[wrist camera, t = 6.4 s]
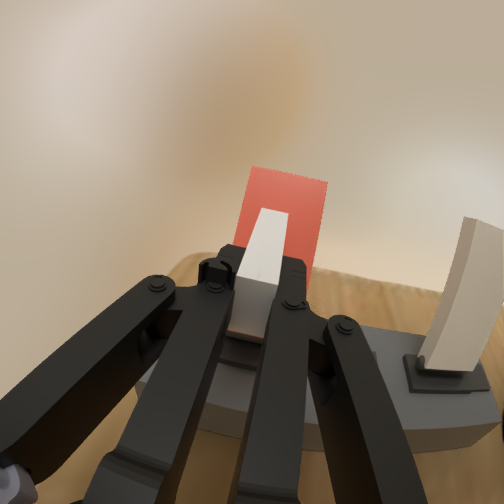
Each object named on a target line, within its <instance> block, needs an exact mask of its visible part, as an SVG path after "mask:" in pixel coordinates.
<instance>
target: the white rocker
mask: <svg viewBox="0 0 504 504" xmlns="http://www.w3.org/2000/svg"><path fill="white" fill-rule="evenodd" d="M503 302H504V230H501V229H499V228H496V227H494V226H492V225H490V224H487V223H484V222H482V221H480V220H477V219H473V218H468V217H464V218H463V223H462V228H461V232H460V236H459V240H458V244H457V248H456V252H455V255H454V259H453V263H452V266H451V269H450V273H449V276H448V279H447V282H446V285H445V288H444V291H443V294H442V297H441V300H440V303H439V305H438V308H437V311H436V313H435V316H434V319H433V321H432V324H431V326H430V329H429V331H428V333H427V336H426V338H425V340H424V343H423V345H422V347H421V350H420V352H419V354H418V356H417V357H418V359H417V362H416V367H417V369H420V370H432V371H446V372H466V373H469V372H470V371H473V370H474V368H475V366H476V364H477V362H478V360H479V358H480V356H481V354H482V352H483V350H484V348H485V346H486V344H487V341H488V339H489V337H490V335H491V332H492V330H493V328H494V325H495V323H496V320H497V318H498V315H499V312H500V310H501V307H502V304H503Z"/></svg>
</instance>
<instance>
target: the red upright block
mask: <svg viewBox="0 0 504 504" xmlns="http://www.w3.org/2000/svg"><path fill="white" fill-rule="evenodd" d="M327 184H328V183H327V182H325V181H320V180H316V179H312V178H308V177H303V176H299V175H294V174H289V173H285V172H280V171H275V170H270V169H265V168H260V167H255V166H252V168H251V172H250V176H249V180H248V184H247V189H246V192H245V197H244V200H243V204H242V209H241V213H240V217H239V221H238V225H237V229H236V233H235V238H234V242H233V245H235V246H240V247H244V248H247V246H248V243H249V240H250V238H251V235H252V232H253V230H254V227H255V224H256V222H257V219H258V216H259V214H260V211H261V208H266V209H270V210H275V211H280V212H284V213H288V221H287V228H286V235H285V242H284V249H283V255H284V256H288V257H293V258H297V259H302V260H303V261H304V263H305V265H306V266H307V274H306V275H307V279H306V280H307V285H306V293H307V289H308V284H309V279H310V275H311V270H312V265H313V260H314V255H315V250H316V245H317V240H318V235H319V230H320V224H321V218H322V213H323V207H324V201H325V196H326V189H327ZM226 336H229V337H233V338H238V339H242V340H246V341H250V342H255V343H259V344H262V343H263V339H264V338H262V337H258V336H253V335H249V334H245V333H240V332H236V331H232V330H228V329H227V333H226Z"/></svg>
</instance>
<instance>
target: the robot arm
mask: <svg viewBox="0 0 504 504" xmlns="http://www.w3.org/2000/svg"><path fill="white" fill-rule="evenodd" d="M287 221H288V213H284V212H280V211H275V210H270V209H266V208H261V211H260V214H259V216H258V219H257V222H256V224H255V227H254V230H253V232H252V235H251V238H250V240H249V243H248V246H247V248H244V247H240V246H235V245H230V244H227V245H226V246H224V247H222V248H221V249H220V251H219V253H218V256H217V257H216V258H208V259H206V260H203V261H202V262H201V263H200V264H199V274H198V283H197V285H196V286H191V287H175V282H174V281H173V280H172V279H171V278H169V277H168V276H164V275H152V276H148V277H146V278H144V279H143V280H142V281H140V282H139V283H138V284H137V285H135V286H134V287H133V288H131V289H130V290H129V291H128V292H126V293H125V294H124V295H123V296H121V297H120V298H119V299H117V300H116V301H115V302H114V303H112V304H111V305H110V306H109V307H107V308H106V309H105V310H104V311H103V312H101V313H100V314H99V315H98V316H96V318H94V319H93V320H91V321H90V322H89V323H88V324H87V325H85V326H84V327H83V328H82V329H81V330H80V331H78V332H77V333H76V334H75V335H73V336H72V337H71V338H70V339H69V340H68V341H66V342H65V343H64V344H63V345H62V346H60V347H59V348H58V349H57V350H56V351H55V352H53V353H52V354H51V355H50V356H49V357H48V358H46V359H45V360H44V361H43V362H42V363H41V364H40V365H39V366H37V367H36V368H35V369H34V370H33V371H32V372H31V373H29V374H28V375H27V376H26V377H25V378H24V379H23V380H22V381H20V382H19V383H18V384H17V385H16V386H15V387H14V388H13V389H12V390H11V391H10V392H9V393H7V394H6V395H5V396H4V397H3V398H2V399H1V400H0V504H32V503H34V502H36V501H37V499H38V494H37V491H36V489H35V485H37V484H39V483H41V482H43V481H44V480H45V479H47V478H48V477H50V476H51V475H52V474H53V473H54V472H55V471H57V470H58V469H59V468H60V467H61V466H62V465H63V463H64V462H65V461H66V460H67V459H68V458H69V457H70V456H71V455H72V454H73V452H74V451H75V450H76V449H77V448H78V447H79V446H80V445H81V444H82V443H83V441H84V440H85V439H86V438H87V437H88V436H89V435H90V434H91V433H92V432H93V430H94V429H95V428H96V427H97V426H98V425H99V424H100V423H101V422H102V420H103V419H104V418H105V417H106V416H107V415H108V414H109V413H110V412H111V411H112V409H113V408H114V407H115V406H116V405H117V404H118V403H119V402H120V401H121V399H122V398H123V397H124V396H125V395H126V394H127V393H128V392H129V391H130V390H131V388H132V387H133V386H134V385H135V384H136V383H137V382H138V381H139V380H140V378H141V377H142V376H143V375H144V374H145V373H146V372H147V371H148V370H149V369H150V367H151V366H152V365H153V364H154V363H155V362H156V361H157V360H158V361H157V363H156V365H155V367H154V369H153V371H152V373H151V375H150V377H149V379H148V381H147V383H146V385H145V388H144V390H143V392H142V394H141V396H140V398H139V400H138V402H137V404H136V406H135V408H134V410H133V413H132V415H131V417H130V419H129V421H128V423H127V425H126V427H125V430H124V432H123V434H122V436H121V438H120V440H119V443H118V445H117V446H116V448H115V449H114V450H113V451H111V452H109V453H107V454H106V455H105V456H104V457H103V458H102V460H101V462H100V464H99V465H98V468H97V470H96V472H95V474H94V476H93V479H92V481H91V483H90V485H89V488H88V490H87V492H86V494H85V497H84V499H83V500H79V501H76V502H73V503H71V504H175V500H176V493H177V489H178V486H179V483H180V480H181V476H182V473H183V470H184V467H185V464H186V461H187V458H188V455H189V452H190V448H191V445H192V442H193V439H194V436H195V433H196V430H197V427H198V424H199V421H200V417H201V414H202V411H203V408H204V405H205V402H206V399H207V396H208V392H209V389H210V386H211V383H212V380H213V377H214V374H215V371H216V368H217V364H218V361H219V358H220V355H221V352H222V349H223V346H224V343H225V339H226V333H227V329H228V330H232V331H236V332H240V333H245V334H249V335H253V336H258V337H262V338H264V339H263V343H262V346H261V350H260V353H259V357H258V359H259V361H258V366H257V371H256V376H255V380H254V385H253V390H252V395H251V400H250V404H249V409H248V414H247V418H246V423H245V427H244V432H243V436H242V441H241V445H240V450H239V454H238V458H237V463H236V467H235V471H234V476H233V480H232V484H231V488H230V492H229V496H228V500H227V504H301V503H300V501H299V499H298V496H297V490H298V481H299V473H300V464H301V454H302V443H303V432H304V420H305V406H306V391H307V376H308V381H309V385H310V389H311V393H312V397H313V402H314V406H315V410H316V415H317V419H318V424H319V428H320V432H321V437H322V441H323V446H324V450H325V455H326V460H327V464H328V469H329V474H330V478H331V483H332V488H333V493H334V498H335V502H336V504H428V503H427V499H426V496H425V492H424V489H423V486H422V483H421V480H420V477H419V473H418V470H417V467H416V464H415V461H414V458H413V456H412V453H411V450H410V447H409V444H408V441H407V439H406V436H405V433H404V430H403V428H402V425H401V422H400V420H399V417H398V414H397V412H396V409H395V407H394V404H393V402H392V399H391V397H390V394H389V392H388V389H387V387H386V384H385V382H384V379H383V377H382V375H381V372H380V370H379V367H378V365H377V363H376V360H375V358H374V356H373V353H372V351H371V349H370V347H369V344H368V342H367V340H366V338H365V335H364V333H363V331H362V329H361V327H360V325H359V324H358V323H357V322H356V321H355V320H354V319H352V318H350V317H348V316H345V315H334V316H332V317H331V318H329V320H326V319H324V318H322V317H320V316H318V315H316V314H315V313H313V312H312V311H311V310H310V307H309V303H308V302H307V301H306V285H307V280H306V279H307V275H306V274H307V266H306V265H305V263H304V261H303V260H302V259H297V258H293V257H288V256H284V255H283V249H284V242H285V235H286V228H287ZM503 424H504V422H503Z"/></svg>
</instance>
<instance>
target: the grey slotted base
mask: <svg viewBox="0 0 504 504" xmlns="http://www.w3.org/2000/svg"><path fill="white" fill-rule="evenodd" d="M324 319H325V318H324ZM326 320H329V319H326ZM360 327H361V329H362V331H363V333H364V335H365V338H366V340H367V342H368V344H369V347H370V349H371V351H372V353H373V356H374V358H375V360H376V363H377V365H378V367H379V370H380V372H381V375H382V377H383V379H384V382H385V384H386V387H387V389H388V392H389V394H390V397H391V399H392V402H393V404H394V407H395V409H396V412H397V414H398V417H399V420H400V422H401V425H402V428H403V430H404V433H405V436H406V439H407V441H408V444H409V447H410V450H411V453H418V452H430V451H440V450H448V449H456V448H463V447H469V446H472V445H473V444H474V443H476V442H477V441H478V440H480V439H481V438H482V437H483V436H485V435H486V434H487V433H488V432H490V431H491V430H492V429H493V428H494V427H496V426H497V425H498V424H499V423H500V422H501V421H502V420H501V417H500V414H499V411H498V407H497V404H496V401H495V398H494V395H493V392H492V390H491V387H490V384H489V381H488V379H487V376H486V373H485V371H484V368H483V366H482V363H481V361H480V359H479V360H478V362H477V364H476V366H475V368H474V370H473V371H470V372H469V373H466V372H446V371H432V370H420V369H417V367H416V362H417V359H418V357H417V356H418V354H419V352H420V350H421V347H422V345H423V343H424V340H425V338H426V336H423V335H417V334H410V333H404V332H397V331H391V330H385V329H379V328H373V327H368V326H362V325H360ZM261 346H262V344H259V343H255V342H250V341H246V340H242V339H238V338H233V337H229V336H226V339H225V343H224V346H223V349H222V352H221V355H220V358H219V361H218V364H217V368H216V371H215V374H214V377H213V380H212V383H211V386H210V389H209V392H208V396H207V399H206V402H205V405H204V408H203V411H202V414H201V417H200V421H199V424H198V427H197V428H199V429H203V430H206V431H210V432H214V433H218V434H222V435H226V436H230V437H235V438H239V439H242V436H243V432H244V427H245V423H246V418H247V414H248V409H249V404H250V400H251V395H252V390H253V385H254V380H255V376H256V371H257V366H258V361H259V359H258V357H259V353H260V350H261ZM157 361H158V360H157ZM157 361H156V362H155V363H154V364H153V365H152V366H151V367H150V369H149V370H148V371H147V372H146V373H145V374H144V375H143V376H142V377H141V378H140V380H139V381H138V382H137V383H136V384H135V385H134V386H135V389H136V393H137V396H138V399H139V398H140V396H141V394H142V392H143V390H144V388H145V385H146V383H147V381H148V379H149V377H150V375H151V373H152V371H153V369H154V367H155V365H156V363H157ZM302 449H304V450H313V451H324V452H325V450H324V446H323V441H322V437H321V432H320V428H319V424H318V419H317V415H316V410H315V406H314V402H313V397H312V393H311V389H310V385H309V381H308V376H307V391H306V406H305V420H304V432H303V443H302Z"/></svg>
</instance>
